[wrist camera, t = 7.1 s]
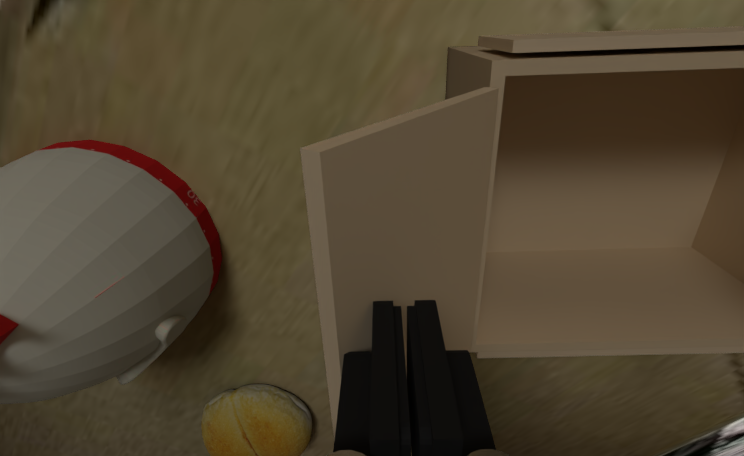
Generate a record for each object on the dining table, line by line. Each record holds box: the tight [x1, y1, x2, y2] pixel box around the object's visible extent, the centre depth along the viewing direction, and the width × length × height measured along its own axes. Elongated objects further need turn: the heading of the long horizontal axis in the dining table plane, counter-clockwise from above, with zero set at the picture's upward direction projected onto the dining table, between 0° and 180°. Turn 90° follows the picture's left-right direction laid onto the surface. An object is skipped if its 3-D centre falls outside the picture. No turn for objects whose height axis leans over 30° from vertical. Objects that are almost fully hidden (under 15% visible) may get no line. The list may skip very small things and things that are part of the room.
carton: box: [446, 26, 744, 358], centre depth 20 cm, size 17×14×9 cm
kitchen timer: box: [0, 140, 222, 404], centre depth 20 cm, size 14×14×15 cm
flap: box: [300, 87, 499, 441], centre depth 13 cm, size 1×11×9 cm
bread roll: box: [202, 384, 312, 456], centre depth 33 cm, size 8×9×4 cm
